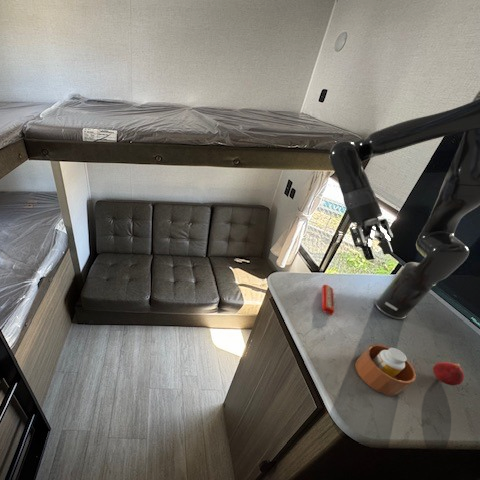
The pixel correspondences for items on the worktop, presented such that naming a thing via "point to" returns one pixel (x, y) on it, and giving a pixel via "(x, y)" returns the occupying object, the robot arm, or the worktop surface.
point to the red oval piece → (448, 373)
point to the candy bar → (327, 299)
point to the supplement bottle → (390, 361)
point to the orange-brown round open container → (378, 377)
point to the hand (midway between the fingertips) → (380, 256)
